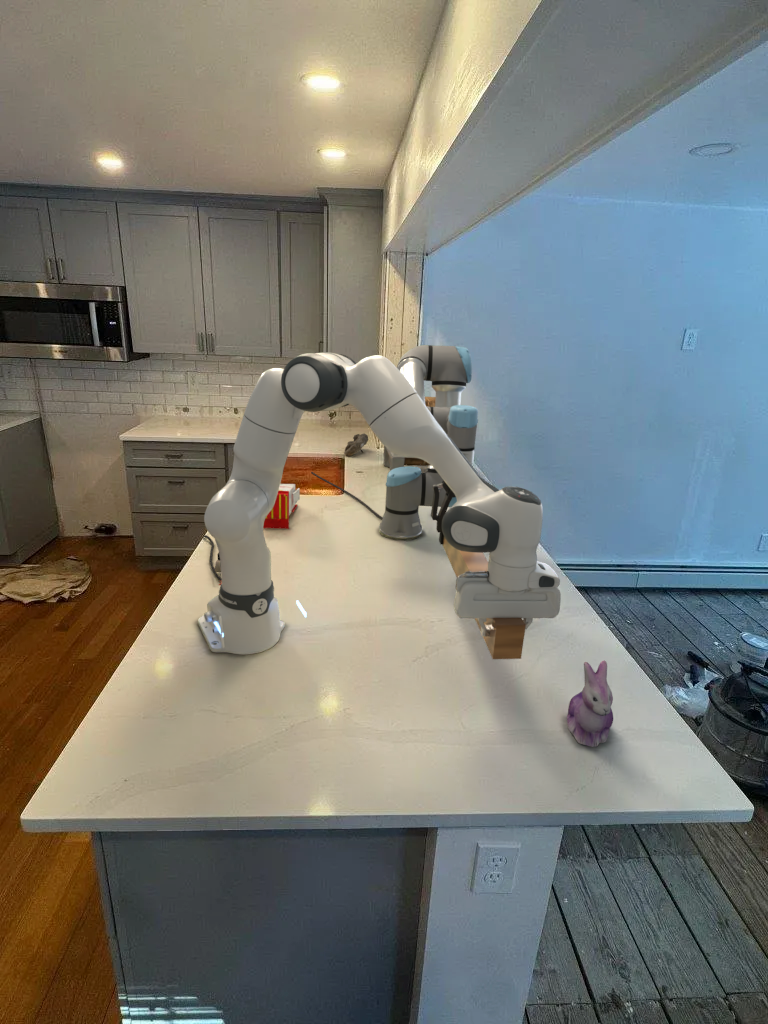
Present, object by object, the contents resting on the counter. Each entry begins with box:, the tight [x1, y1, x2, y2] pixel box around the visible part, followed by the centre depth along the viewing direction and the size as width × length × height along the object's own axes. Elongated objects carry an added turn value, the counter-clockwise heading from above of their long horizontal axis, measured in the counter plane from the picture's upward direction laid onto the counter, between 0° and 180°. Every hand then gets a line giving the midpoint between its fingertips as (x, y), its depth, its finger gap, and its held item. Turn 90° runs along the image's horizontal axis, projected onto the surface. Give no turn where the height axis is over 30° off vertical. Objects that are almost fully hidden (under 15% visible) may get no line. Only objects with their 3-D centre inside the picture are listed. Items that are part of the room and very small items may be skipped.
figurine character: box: [214, 552, 221, 574], centre depth 166 cm, size 7×8×15 cm
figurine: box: [566, 660, 614, 748], centre depth 106 cm, size 9×10×15 cm
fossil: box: [343, 432, 369, 457], centre depth 306 cm, size 22×10×15 cm
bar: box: [442, 537, 526, 660], centre depth 136 cm, size 60×6×8 cm, turn 4°
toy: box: [263, 483, 301, 530], centre depth 210 cm, size 12×13×30 cm
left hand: (502, 635), depth 112 cm, fingers closed on bar, 5 cm apart
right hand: (452, 542), depth 161 cm, fingers closed on bar, 6 cm apart
